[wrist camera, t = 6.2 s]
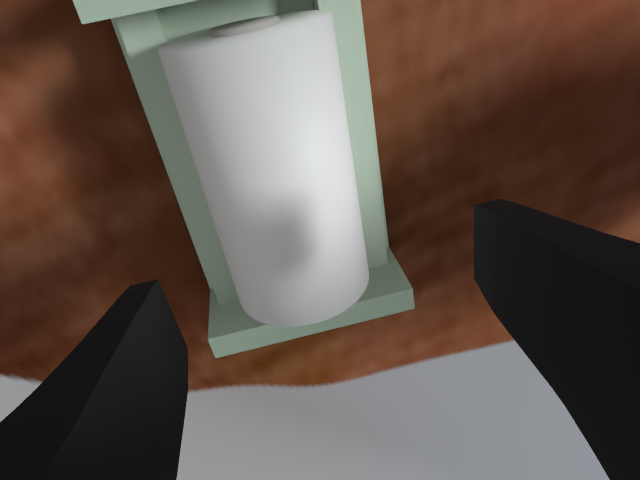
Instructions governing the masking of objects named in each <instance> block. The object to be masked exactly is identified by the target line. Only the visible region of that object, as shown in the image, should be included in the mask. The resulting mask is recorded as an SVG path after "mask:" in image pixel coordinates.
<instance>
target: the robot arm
mask: <svg viewBox="0 0 640 480" xmlns="http://www.w3.org/2000/svg"><path fill="white" fill-rule="evenodd" d="M474 279H475V280H476V282H477V284H478V286H479V288H480V290H481V291H482V293H483V295H484V297H485V299H486V300H487V302H488V304H489V305H490V307H491V309H492V310H493V312H494V314H495V315H496V316H497V318H498V319H499V320H500V322H501V323H502V324H503V325H504V327H505V328H506V329H507V331H508V332H509V333H510V335H511V336H512V337H513V338H514V340H515V341H516V342H517V344H518V345H519V346H520V347H521V349H522V350H523V351H524V353H525V354H526V355H527V356H528V358H529V359H530V360H531V361H532V363H533V364H534V365H535V366H536V368H537V369H538V370H539V372H540V373H541V374H542V375H543V377H544V378H545V379H546V381H547V382H548V383H549V385H550V386H551V387H552V388H553V390H554V391H555V392H556V394H557V395H558V397H559V398H560V399H561V401H562V402H563V404H564V405H565V407H566V408H567V410H568V411H569V413H570V415H571V416H572V418H573V419H574V421H575V423H576V424H577V426H578V427H579V429H580V431H581V432H582V434H583V435H584V437H585V439H586V440H587V442H588V443H589V445H590V447H591V448H592V450H593V452H594V453H595V455H596V457H597V459H598V460H599V462H600V464H601V465H602V467H603V469H604V470H605V472H606V474H607V475H608V477H609V479H610V480H640V243H637V242H633V241H630V240H626V239H623V238H619V237H616V236H613V235H609V234H606V233H603V232H600V231H596V230H593V229H590V228H587V227H584V226H581V225H578V224H575V223H572V222H569V221H566V220H564V219H561V218H558V217H555V216H552V215H549V214H546V213H543V212H541V211H538V210H535V209H532V208H529V207H526V206H523V205H520V204H517V203H513V202H510V201H506V200H502V199H497V200H493V201H489V202H485V203H480V204H476V205H474ZM187 393H188V348H187V346H186V343H185V341H184V339H183V336H182V334H181V332H180V329H179V327H178V325H177V322H176V320H175V318H174V315H173V313H172V311H171V308H170V306H169V304H168V302H167V299H166V297H165V295H164V292H163V290H162V288H161V285H160V283H159V281H158V280H154V281H149V282H145V283H141V284H137V285H132V286H130V287H129V288H128V289H127V290H126V291H125V292H124V293H123V294H122V295H121V296H120V297H119V298H118V299H117V301H116V302H115V303H114V304H113V305H112V306H111V307H110V309H109V310H108V311H107V312H106V313H105V314H104V316H103V317H102V318H101V319H100V320H99V321H98V322H97V324H96V325H95V326H94V327H93V328H92V329H91V330H90V332H89V333H88V334H87V335H86V336H85V337H84V338H83V340H82V341H81V342H80V343H79V344H78V345H77V346H76V348H75V349H74V350H73V351H72V352H71V353H70V354H69V355H68V356H67V357H66V358H65V359H64V360H63V361H62V362H61V364H60V365H59V366H58V367H57V368H56V369H55V370H54V371H53V372H52V373H51V374H50V375H49V376H48V377H47V378H46V379H45V380H44V381H43V382H42V383H41V384H40V386H39V387H38V388H37V389H36V390H35V391H34V392H33V393H32V394H31V395H30V396H29V397H27V398H26V399H25V400H24V401H23V402H22V403H21V404H20V405H19V406H18V407H17V408H16V409H15V410H14V411H13V412H11V413H10V414H9V415H8V416H7V417H6V418H5V419H4V420H2V421H1V422H0V480H176V477H177V471H178V463H179V456H180V448H181V440H182V432H183V425H184V417H185V409H186V401H187Z"/></svg>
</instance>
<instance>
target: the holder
mask: <svg viewBox="0 0 640 480" xmlns="http://www.w3.org/2000/svg"><path fill="white" fill-rule="evenodd" d="M73 3H74V5H75V8H76V10H77V13H78V15H79V18H80V20H81V23H82V24H87V23H92V22H96V21H101V20H106V19H111V21H112V24H113V27H114V30H115V32H116V35H117V38H118V40H119V43H120V46H121V49H122V51H123V54H124V57H125V59H126V62H127V65H128V68H129V70H130V73H131V76H132V78H133V81H134V84H135V87H136V89H137V92H138V95H139V97H140V100H141V103H142V106H143V108H144V111H145V114H146V116H147V119H148V122H149V125H150V127H151V130H152V133H153V135H154V138H155V141H156V144H157V146H158V149H159V152H160V154H161V157H162V160H163V163H164V165H165V168H166V171H167V173H168V176H169V179H170V182H171V184H172V187H173V190H174V192H175V195H176V198H177V201H178V203H179V206H180V209H181V211H182V214H183V217H184V220H185V222H186V225H187V228H188V230H189V233H190V236H191V239H192V241H193V244H194V247H195V249H196V252H197V255H198V258H199V260H200V263H201V266H202V268H203V271H204V274H205V277H206V279H207V282H208V285H209V287H210V306H209V325H208V341H209V344H210V346H211V349H212V351H213V354H214V356H215V358H219V357H223V356H227V355H231V354H235V353H239V352H243V351H247V350H251V349H255V348H259V347H263V346H267V345H271V344H275V343H279V342H283V341H287V340H291V339H295V338H299V337H303V336H307V335H311V334H315V333H319V332H323V331H327V330H331V329H335V328H339V327H343V326H347V325H351V324H355V323H359V322H363V321H367V320H371V319H375V318H379V317H383V316H387V315H391V314H395V313H399V312H403V311H407V310H411V309H415V305H414V294H413V288H412V286H411V284H410V283H409V281H408V279H407V277H406V276H405V274H404V272H403V270H402V269H401V267H400V265H399V263H398V262H397V260H396V258H395V256H394V255H393V253H392V251H391V249H390V248H389V243H388V235H387V226H386V217H385V209H384V200H383V192H382V183H381V174H380V166H379V157H378V149H377V140H376V131H375V123H374V114H373V106H372V97H371V88H370V80H369V71H368V63H367V54H366V45H365V37H364V28H363V20H362V11H361V2H360V0H73ZM308 10H327V11H331V12H332V15H333V22H334V29H335V36H336V43H337V50H338V57H339V64H340V71H341V78H342V86H343V93H344V100H345V107H346V114H347V121H348V128H349V135H350V142H351V149H352V156H353V163H354V170H355V177H356V184H357V192H358V199H359V206H360V213H361V220H362V227H363V234H364V241H365V248H366V255H367V262H368V269H369V282H368V285H367V288H366V290H365V291H364V293H363V295H362V296H361V297H360V298H359V299H358V300H357V302H355V303H354V304H353V305H352V306H351V307H349V308H348V309H346V310H345V311H344V312H342V313H340V314H338V315H336V316H334V317H332V318H330V319H327V320H324V321H321V322H318V323H314V324H310V325H304V326H296V327H280V326H273V325H268V324H264V323H262V322H259V321H257V320H255V319H253V318H252V317H250V316H249V315H248V314H247V313H246V312H245V311H244V310H243V308H242V306H241V304H240V301H239V298H238V295H237V292H236V289H235V286H234V282H233V279H232V276H231V273H230V270H229V267H228V264H227V261H226V258H225V255H224V252H223V249H222V246H221V243H220V240H219V237H218V234H217V231H216V228H215V224H214V221H213V218H212V215H211V212H210V209H209V206H208V203H207V200H206V197H205V194H204V191H203V188H202V185H201V182H200V179H199V176H198V173H197V169H196V166H195V163H194V160H193V157H192V154H191V151H190V148H189V145H188V142H187V139H186V136H185V133H184V130H183V127H182V124H181V121H180V118H179V114H178V111H177V108H176V105H175V102H174V99H173V96H172V93H171V90H170V87H169V84H168V81H167V78H166V75H165V72H164V69H163V66H162V63H161V60H160V56H159V53H158V50H157V48H158V46H160V45H161V44H163V43H165V42H167V41H170V40H172V39H175V38H177V37H180V36H183V35H187V34H190V33H193V32H197V31H200V30H204V29H208V28H211V27H215V26H219V25H224V24H227V23H231V22H236V21H240V20H245V19H250V18H256V17H263V16H269V15H275V14H281V13H289V12H297V11H308Z"/></svg>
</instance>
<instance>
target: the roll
mask: <svg viewBox="0 0 640 480" xmlns="http://www.w3.org/2000/svg"><path fill="white" fill-rule="evenodd" d="M157 50H158V53H159V56H160V60H161V63H162V66H163V69H164V72H165V75H166V78H167V81H168V84H169V87H170V90H171V93H172V96H173V99H174V102H175V105H176V108H177V111H178V114H179V118H180V121H181V124H182V127H183V130H184V133H185V136H186V139H187V142H188V145H189V148H190V151H191V154H192V157H193V160H194V163H195V166H196V169H197V173H198V176H199V179H200V182H201V185H202V188H203V191H204V194H205V197H206V200H207V203H208V206H209V209H210V212H211V215H212V218H213V221H214V224H215V228H216V231H217V234H218V237H219V240H220V243H221V246H222V249H223V252H224V255H225V258H226V261H227V264H228V267H229V270H230V273H231V276H232V279H233V282H234V286H235V289H236V292H237V295H238V298H239V301H240V304H241V306H242V308H243V310H244V311H245V312H246V313H247V314H248V315H249V316H250V317H252V318H253V319H255V320H257V321H259V322H262V323H264V324H268V325H273V326H280V327H296V326H304V325H310V324H314V323H318V322H321V321H324V320H327V319H330V318H332V317H334V316H336V315H338V314H340V313H342V312H344V311H345V310H346V309H348V308H349V307H351V306H352V305H353V304H354V303H355V302H357V300H358V299H359V298H360V297H361V296H362V295H363V293H364V291H365V290H366V288H367V285H368V282H369V269H368V262H367V255H366V248H365V241H364V234H363V227H362V220H361V213H360V206H359V199H358V192H357V184H356V177H355V170H354V163H353V156H352V149H351V142H350V135H349V128H348V121H347V114H346V107H345V100H344V93H343V86H342V78H341V71H340V64H339V57H338V50H337V43H336V36H335V29H334V22H333V15H332V12H331V11H327V10H308V11H297V12H289V13H281V14H275V15H269V16H263V17H256V18H250V19H245V20H240V21H236V22H231V23H227V24H224V25H219V26H215V27H211V28H208V29H204V30H200V31H197V32H193V33H190V34H187V35H183V36H180V37H177V38H175V39H172V40H170V41H167V42H165V43H163V44H161V45H160V46H158V48H157Z"/></svg>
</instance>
